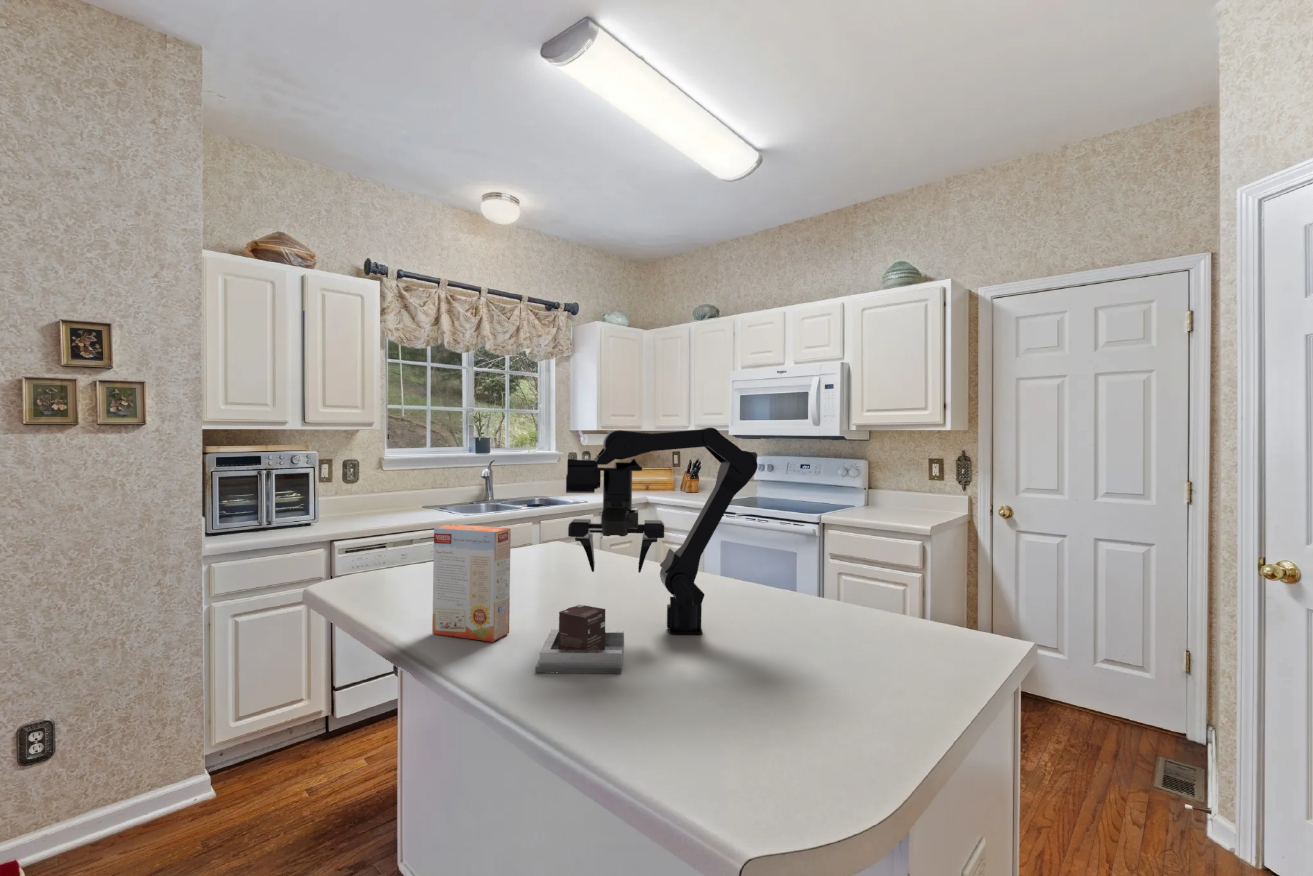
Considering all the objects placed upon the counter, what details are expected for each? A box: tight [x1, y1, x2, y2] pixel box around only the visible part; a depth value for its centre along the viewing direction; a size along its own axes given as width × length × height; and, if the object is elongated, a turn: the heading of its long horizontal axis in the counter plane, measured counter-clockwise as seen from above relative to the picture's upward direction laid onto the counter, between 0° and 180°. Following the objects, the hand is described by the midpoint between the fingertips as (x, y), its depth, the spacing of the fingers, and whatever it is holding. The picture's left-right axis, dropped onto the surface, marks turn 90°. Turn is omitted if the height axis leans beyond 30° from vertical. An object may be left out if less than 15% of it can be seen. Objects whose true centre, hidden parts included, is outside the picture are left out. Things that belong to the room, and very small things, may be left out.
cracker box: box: [431, 524, 512, 643], centre depth 117 cm, size 14×6×21 cm, turn 71°
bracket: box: [534, 628, 625, 675], centre depth 105 cm, size 14×14×3 cm
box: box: [558, 604, 606, 650], centre depth 105 cm, size 6×6×7 cm
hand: (616, 571), depth 119 cm, fingers open, 9 cm apart
